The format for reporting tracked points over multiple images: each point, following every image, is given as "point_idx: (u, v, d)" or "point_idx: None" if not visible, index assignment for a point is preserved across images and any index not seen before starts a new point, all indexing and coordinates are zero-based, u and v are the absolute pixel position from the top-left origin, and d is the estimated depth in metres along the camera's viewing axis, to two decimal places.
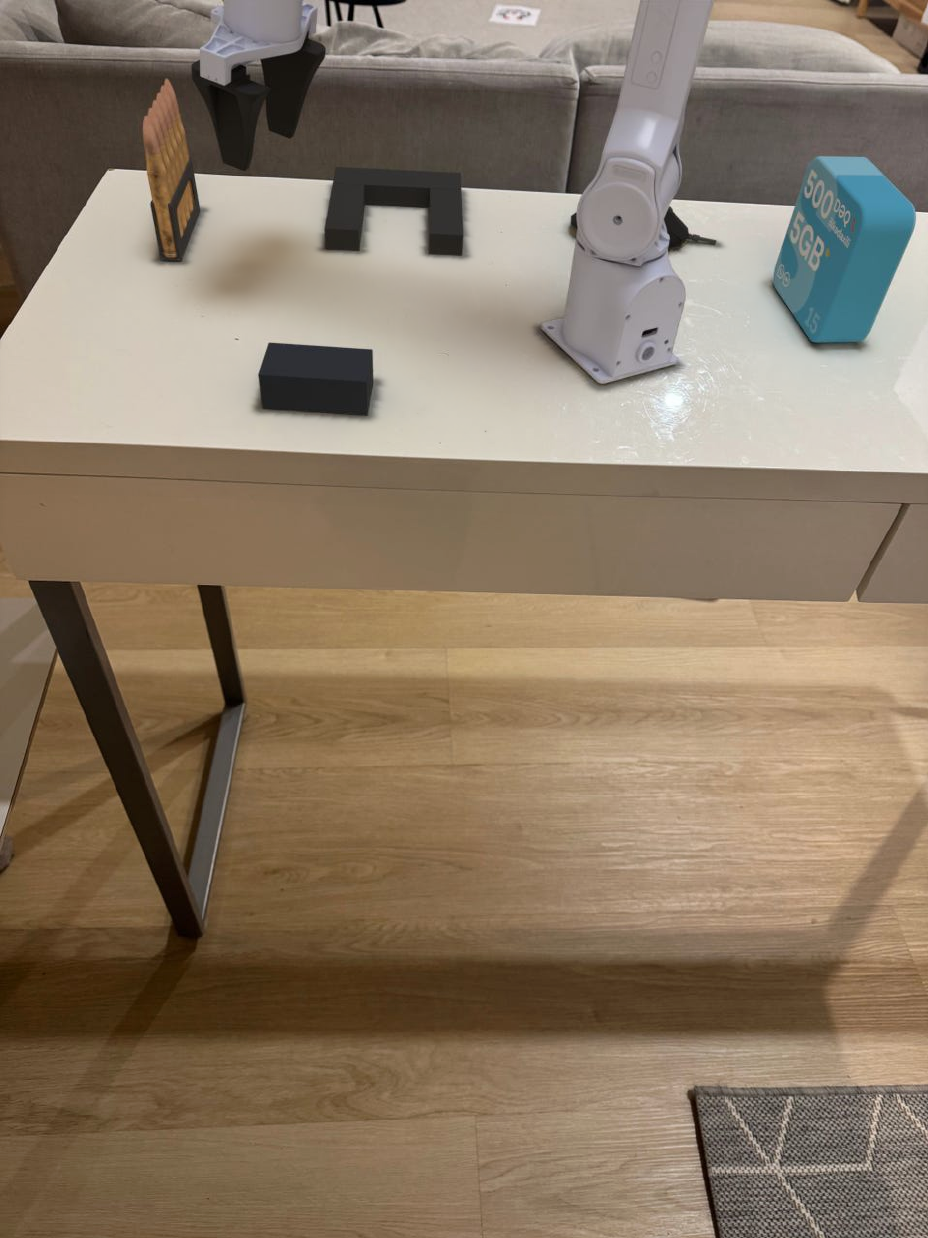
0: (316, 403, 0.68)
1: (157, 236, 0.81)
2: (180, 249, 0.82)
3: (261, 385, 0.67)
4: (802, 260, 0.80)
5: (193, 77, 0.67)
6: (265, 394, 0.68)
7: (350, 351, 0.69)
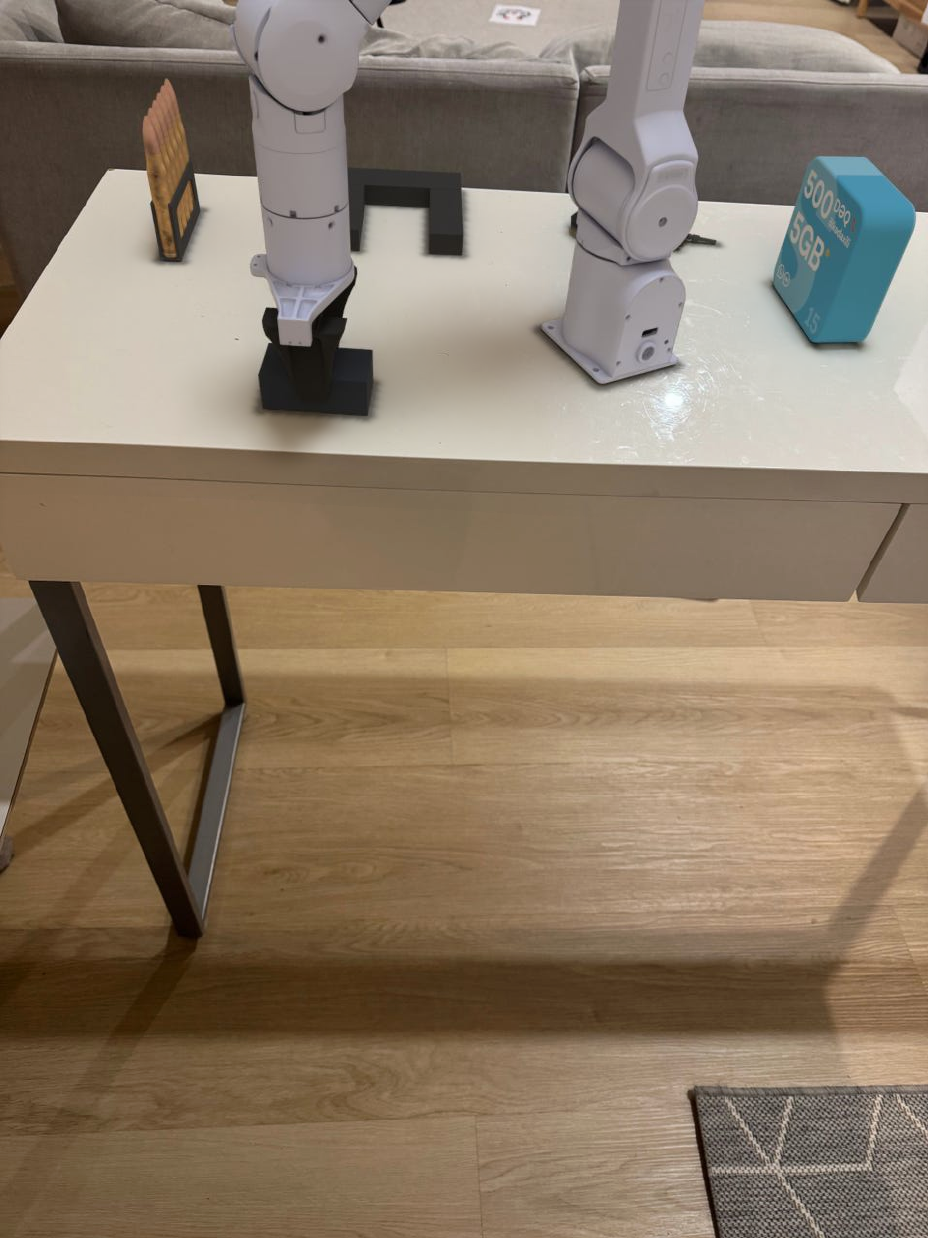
0: (316, 403, 0.68)
1: (157, 236, 0.81)
2: (180, 249, 0.82)
3: (261, 385, 0.67)
4: (802, 260, 0.80)
5: (268, 334, 0.61)
6: (265, 394, 0.68)
7: (350, 352, 0.69)
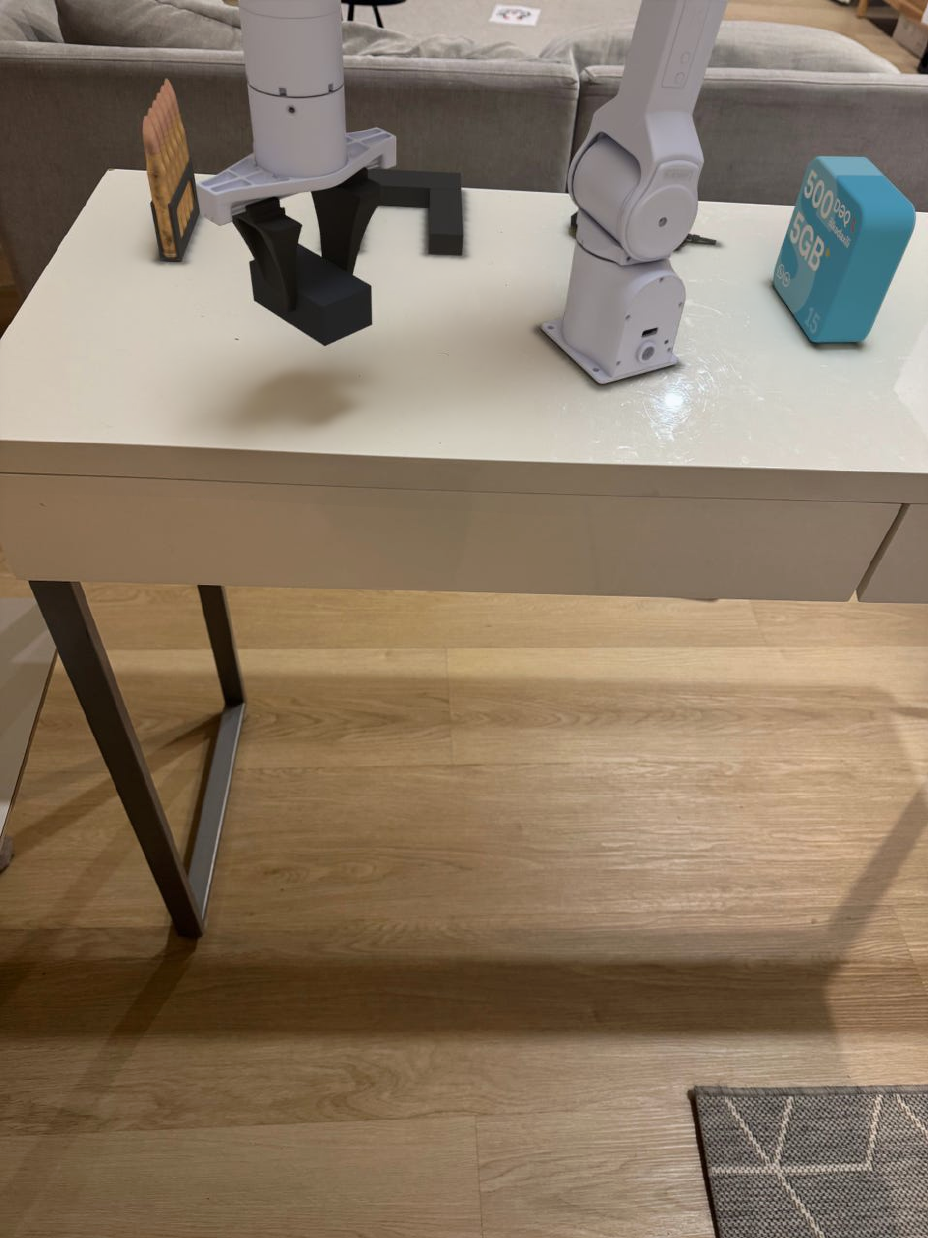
0: (288, 313, 0.63)
1: (157, 236, 0.81)
2: (180, 249, 0.82)
3: (251, 274, 0.64)
4: (802, 260, 0.80)
5: None
6: (254, 286, 0.64)
7: (348, 278, 0.62)
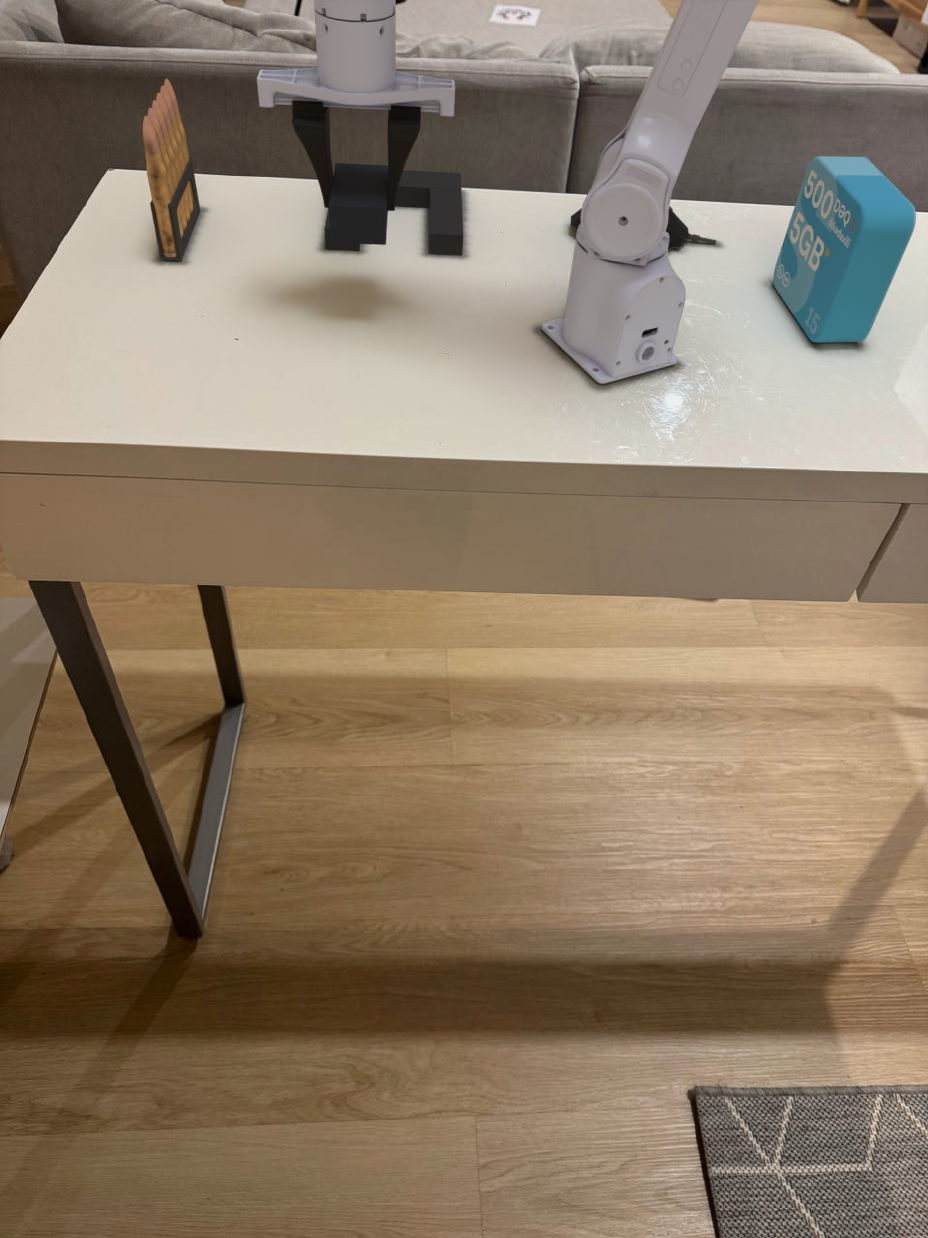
0: None
1: (157, 236, 0.81)
2: (180, 249, 0.82)
3: None
4: (802, 260, 0.80)
5: None
6: None
7: (378, 197, 0.71)
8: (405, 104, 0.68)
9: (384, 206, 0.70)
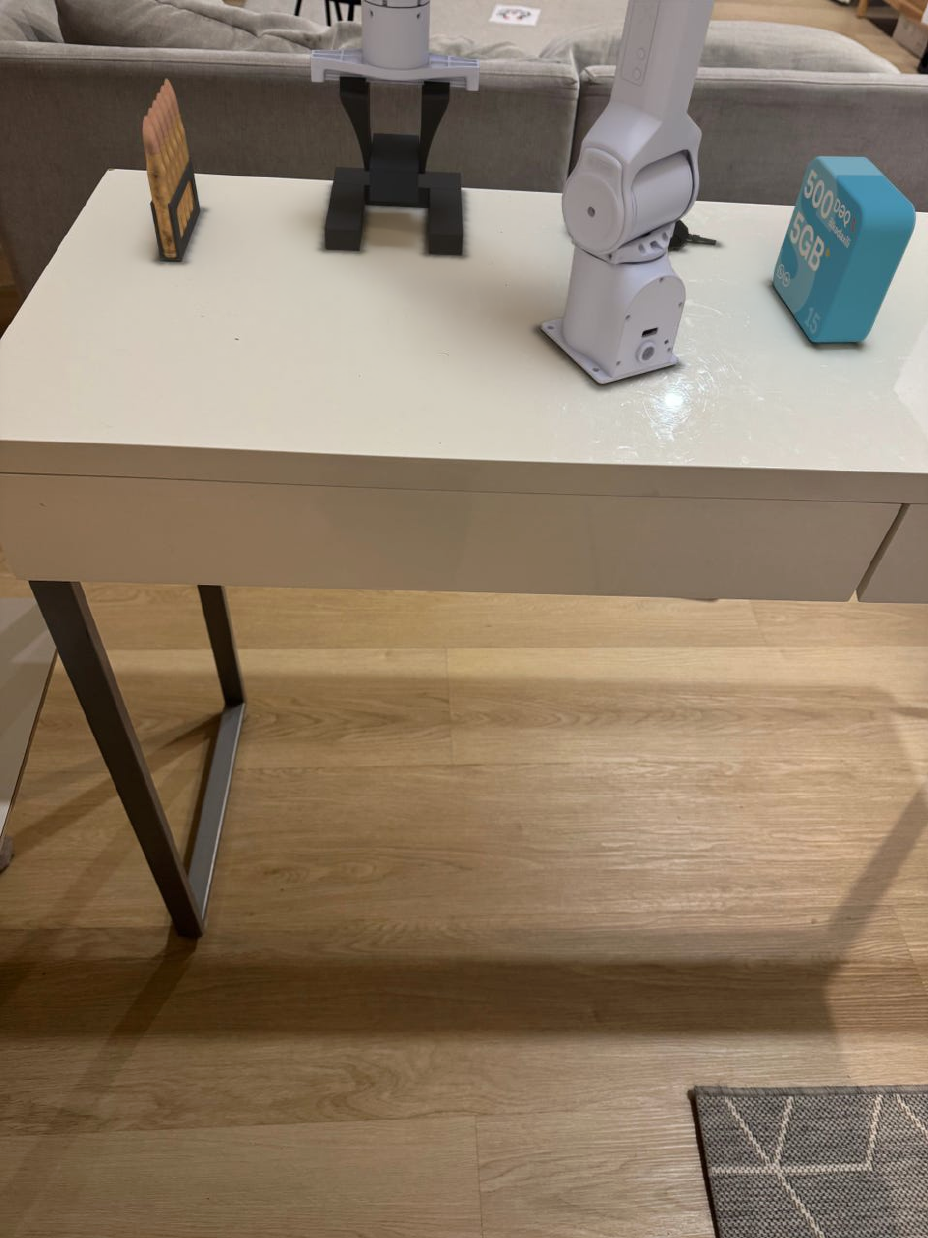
0: None
1: (157, 236, 0.81)
2: (180, 249, 0.82)
3: None
4: (802, 260, 0.80)
5: None
6: None
7: (411, 161, 0.82)
8: (436, 80, 0.79)
9: (417, 168, 0.81)
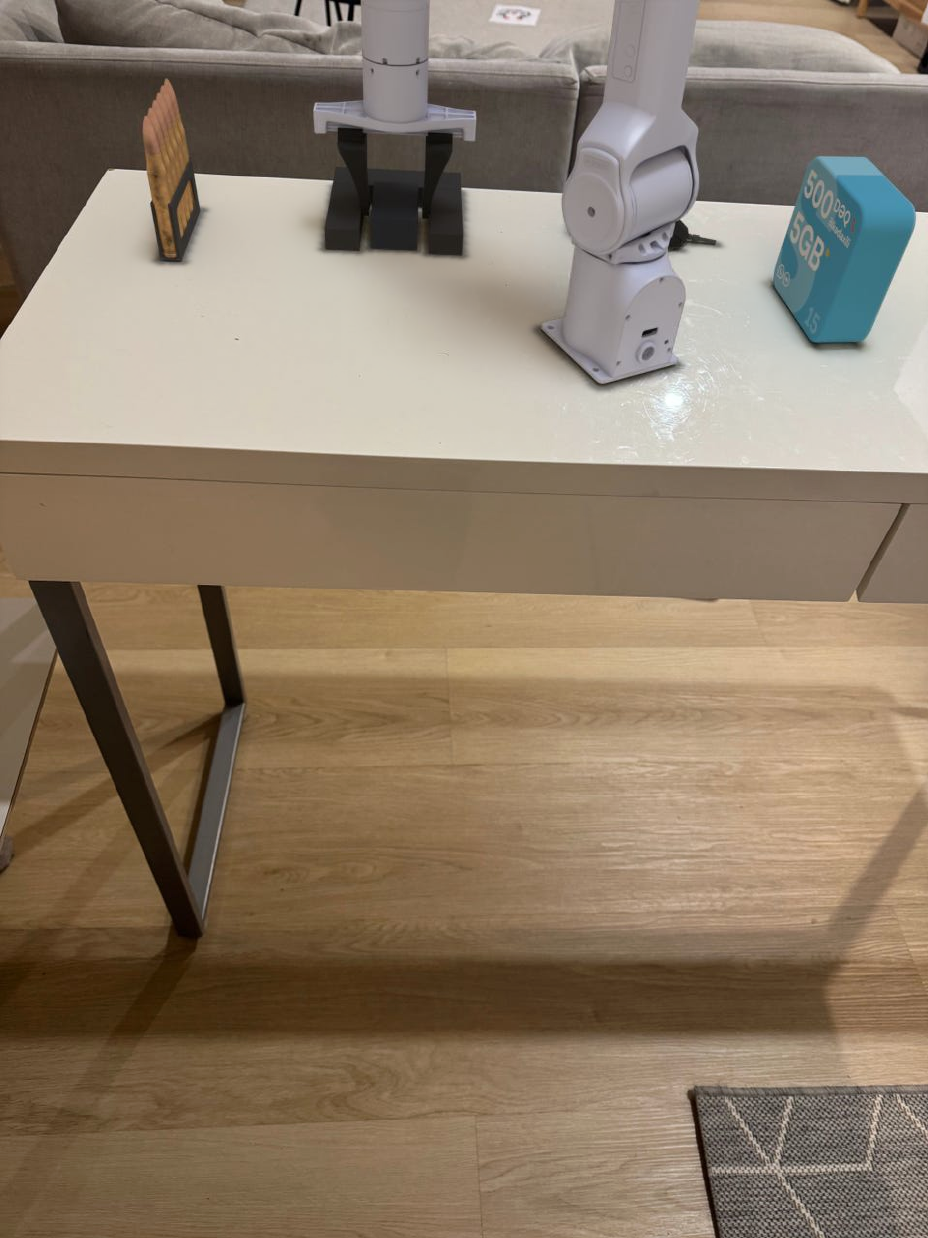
0: None
1: (157, 236, 0.81)
2: (180, 249, 0.82)
3: None
4: (802, 260, 0.80)
5: None
6: None
7: (411, 211, 0.86)
8: (440, 131, 0.82)
9: (416, 218, 0.85)
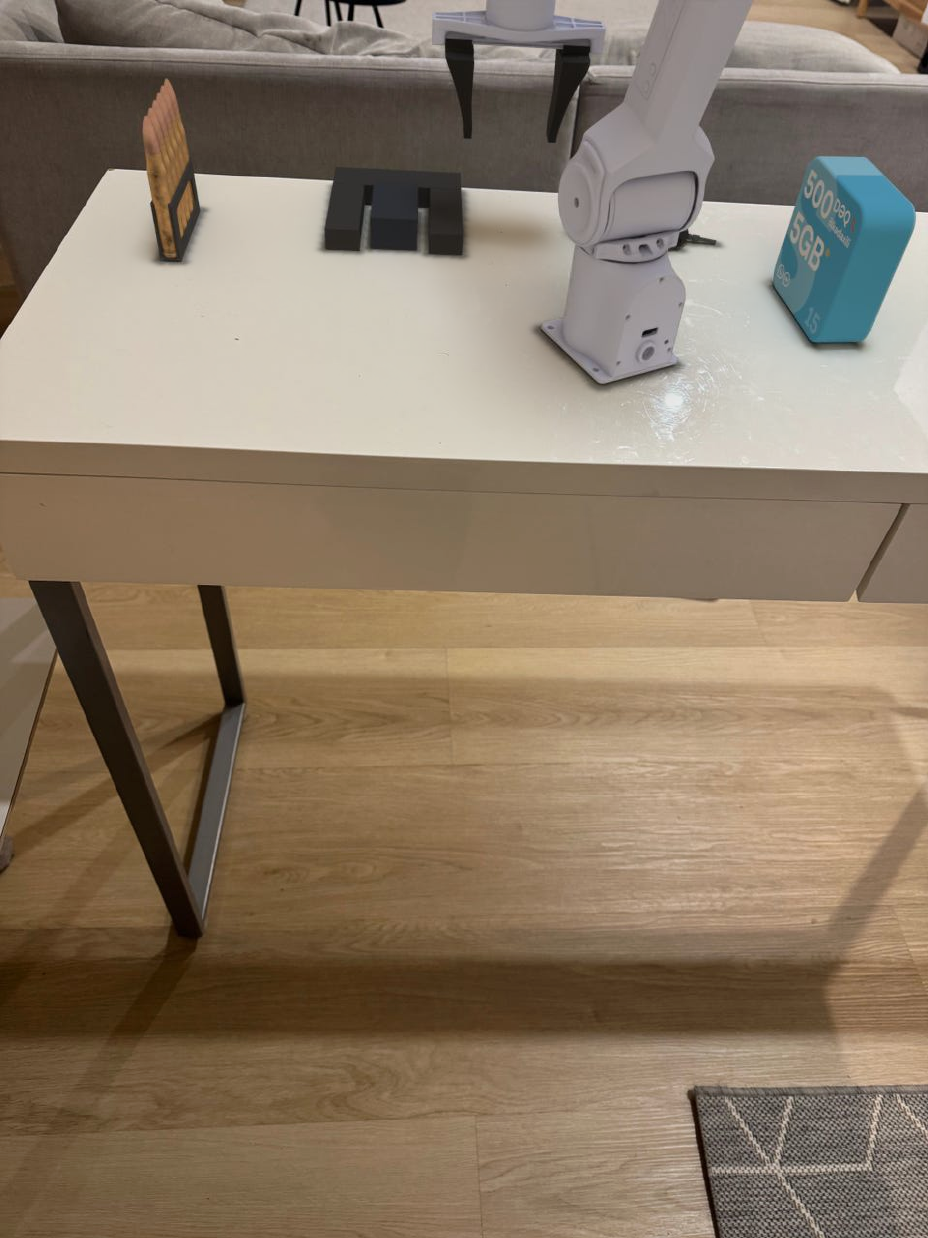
0: None
1: (157, 236, 0.81)
2: (180, 249, 0.82)
3: None
4: (802, 260, 0.80)
5: None
6: None
7: (411, 211, 0.86)
8: (576, 44, 0.77)
9: (416, 218, 0.85)
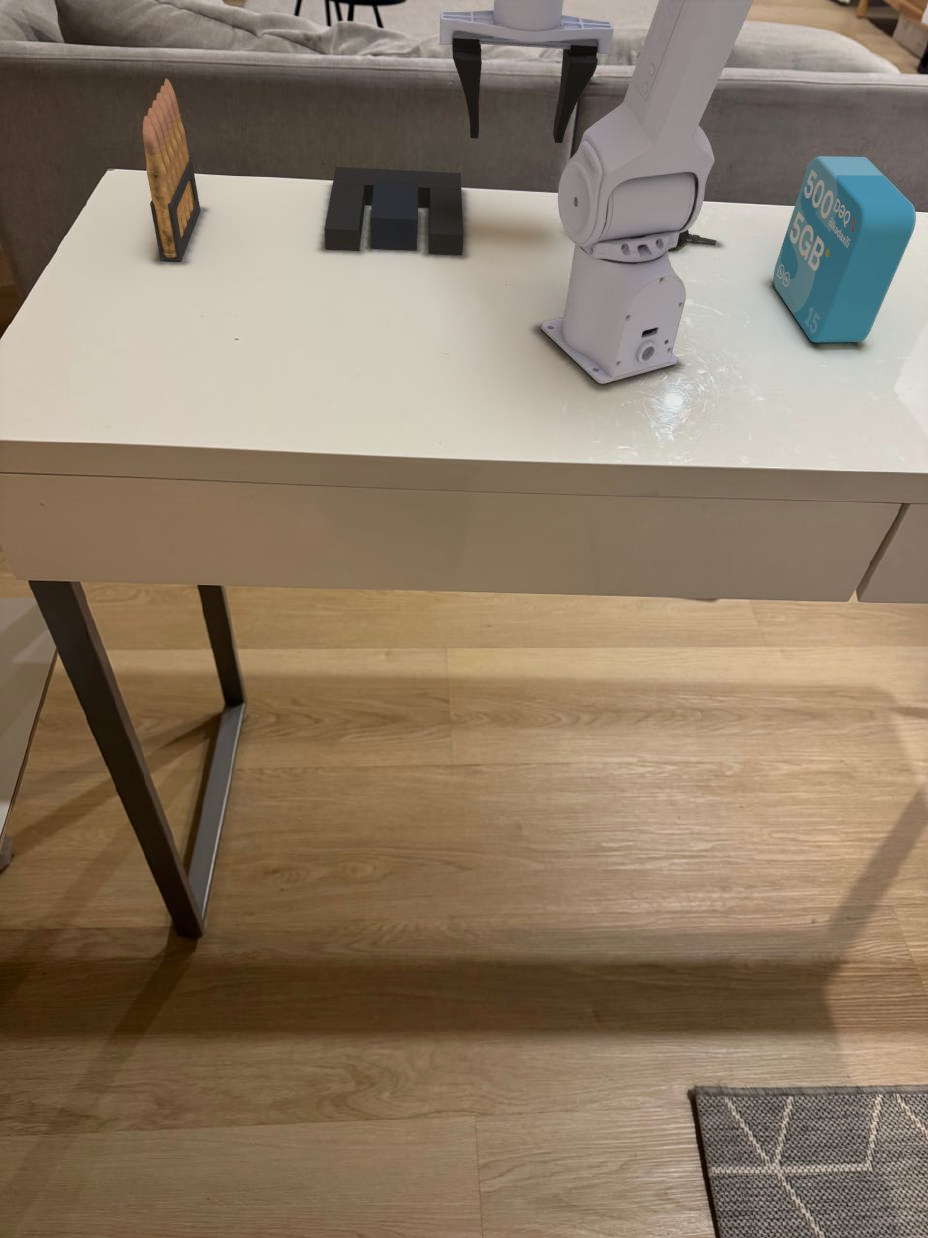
0: None
1: (157, 236, 0.81)
2: (180, 249, 0.82)
3: None
4: (802, 260, 0.80)
5: None
6: None
7: (411, 211, 0.86)
8: (583, 44, 0.77)
9: (416, 218, 0.85)
